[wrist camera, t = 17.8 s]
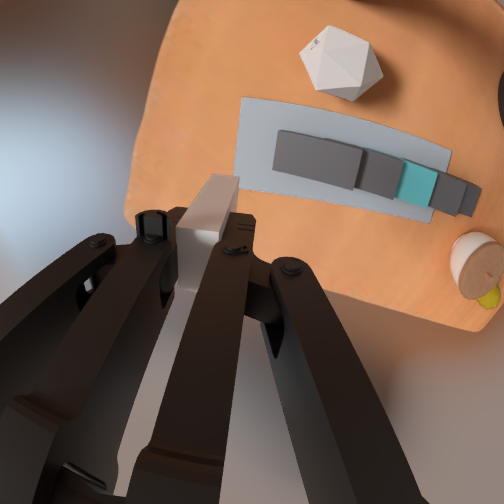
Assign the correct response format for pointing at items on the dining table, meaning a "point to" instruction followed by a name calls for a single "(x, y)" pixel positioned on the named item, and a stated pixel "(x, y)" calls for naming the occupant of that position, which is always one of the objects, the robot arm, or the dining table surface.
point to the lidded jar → (476, 264)
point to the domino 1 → (317, 159)
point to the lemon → (490, 298)
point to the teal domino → (414, 183)
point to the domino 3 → (446, 192)
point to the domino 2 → (377, 172)
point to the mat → (323, 126)
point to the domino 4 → (468, 197)
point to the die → (341, 64)
